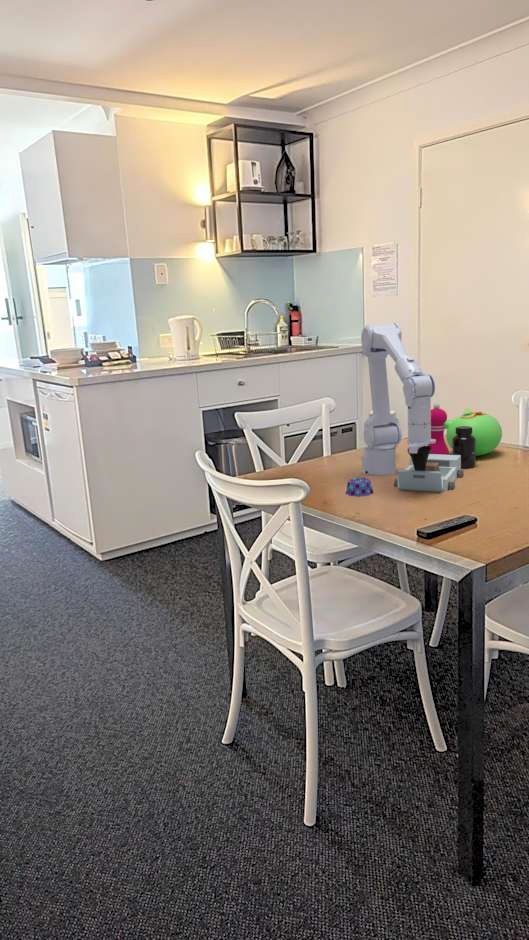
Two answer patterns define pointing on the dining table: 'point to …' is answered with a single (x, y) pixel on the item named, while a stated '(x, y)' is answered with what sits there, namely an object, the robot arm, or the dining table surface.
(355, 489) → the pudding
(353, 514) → the dining table surface
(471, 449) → the supplement bottle
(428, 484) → the panel
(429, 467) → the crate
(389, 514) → the dining table surface
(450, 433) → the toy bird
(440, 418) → the pepper mill
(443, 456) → the ute bed
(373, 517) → the dining table surface
